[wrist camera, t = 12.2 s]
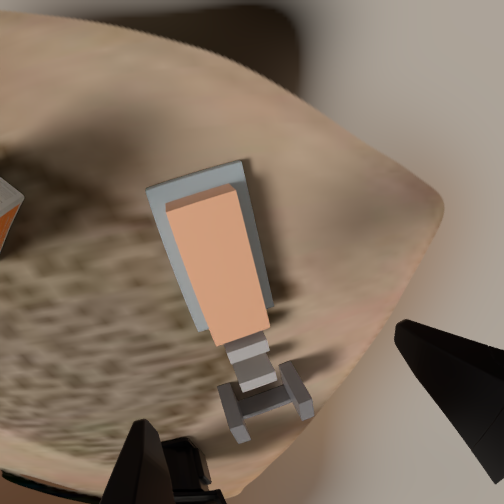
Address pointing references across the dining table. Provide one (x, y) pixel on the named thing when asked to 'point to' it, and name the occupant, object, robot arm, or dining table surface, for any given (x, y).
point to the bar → (219, 262)
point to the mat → (157, 201)
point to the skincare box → (8, 208)
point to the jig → (255, 375)
